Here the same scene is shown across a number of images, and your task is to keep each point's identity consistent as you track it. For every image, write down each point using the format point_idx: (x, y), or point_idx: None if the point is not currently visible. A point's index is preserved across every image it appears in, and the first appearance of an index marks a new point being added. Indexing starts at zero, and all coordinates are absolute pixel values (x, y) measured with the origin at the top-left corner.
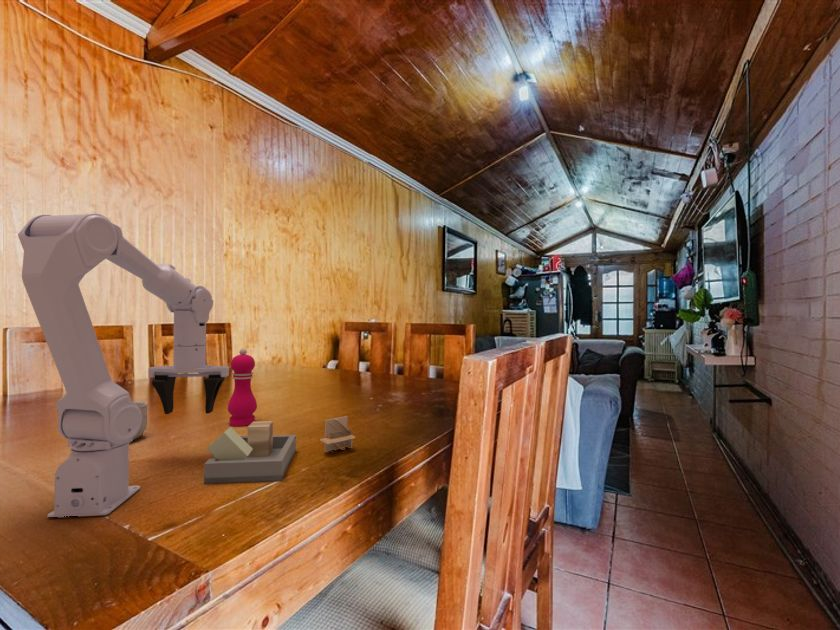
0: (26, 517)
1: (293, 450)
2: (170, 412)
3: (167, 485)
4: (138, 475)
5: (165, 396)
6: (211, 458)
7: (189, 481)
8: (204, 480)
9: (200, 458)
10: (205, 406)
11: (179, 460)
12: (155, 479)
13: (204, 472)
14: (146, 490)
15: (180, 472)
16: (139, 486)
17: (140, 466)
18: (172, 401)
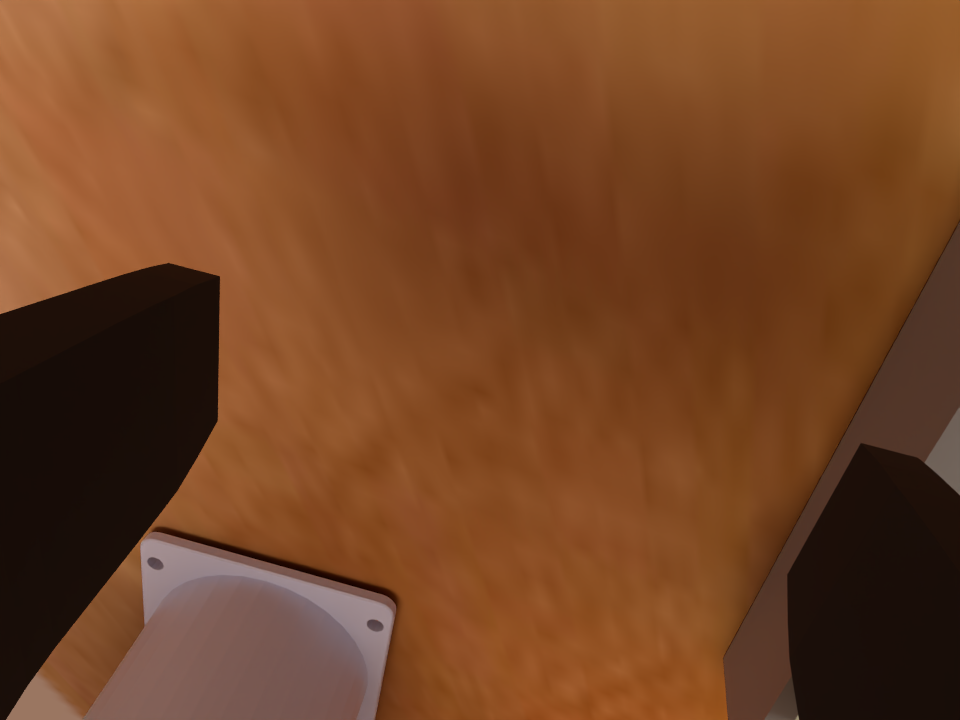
0: (74, 664)
1: None
2: (215, 358)
3: (524, 599)
4: (302, 395)
5: (7, 708)
6: (783, 715)
7: (638, 595)
8: (727, 674)
9: (686, 176)
10: (797, 699)
11: (505, 169)
12: (432, 496)
13: (730, 717)
14: (432, 615)
15: (562, 441)
16: (389, 615)
17: (237, 215)
18: (105, 375)
